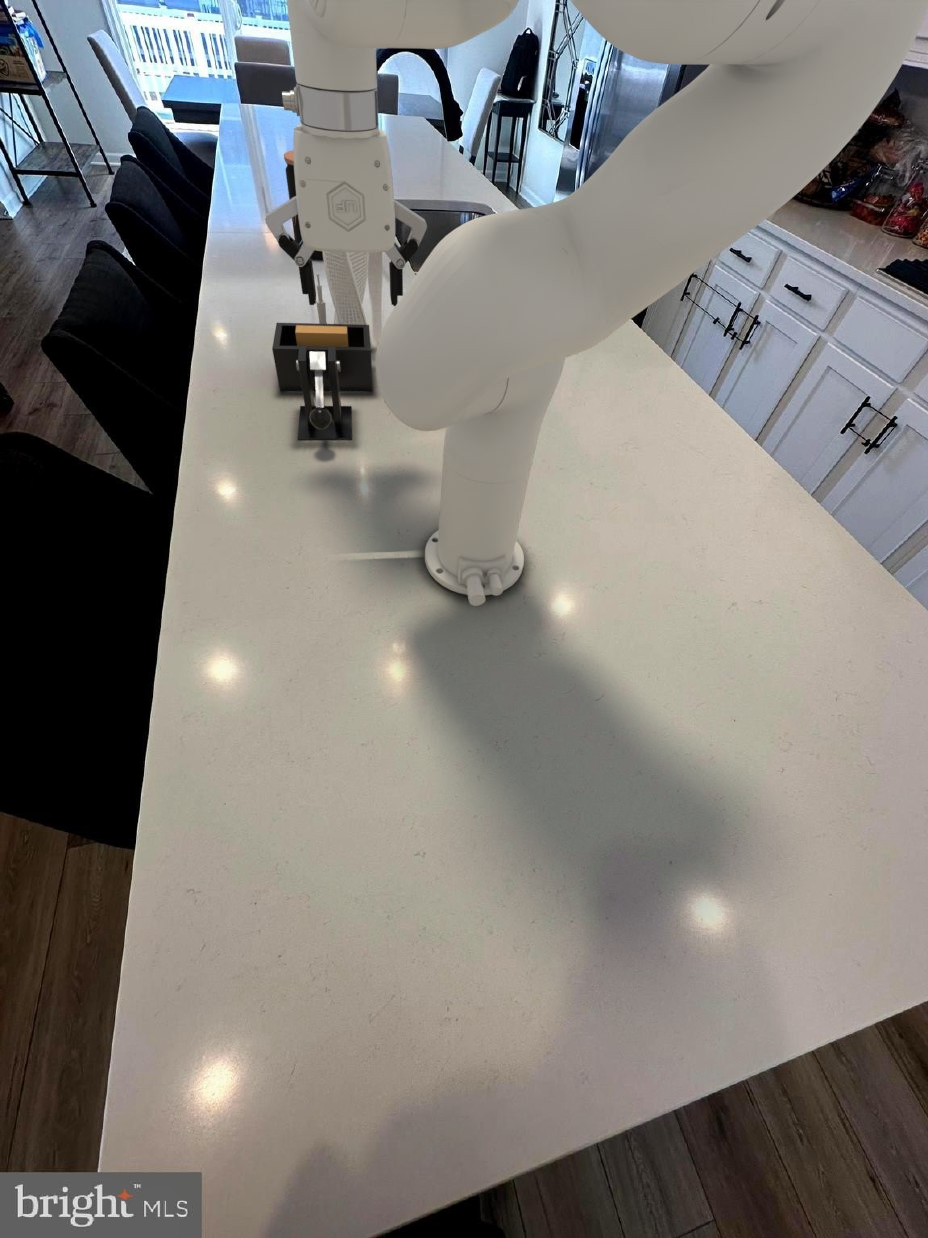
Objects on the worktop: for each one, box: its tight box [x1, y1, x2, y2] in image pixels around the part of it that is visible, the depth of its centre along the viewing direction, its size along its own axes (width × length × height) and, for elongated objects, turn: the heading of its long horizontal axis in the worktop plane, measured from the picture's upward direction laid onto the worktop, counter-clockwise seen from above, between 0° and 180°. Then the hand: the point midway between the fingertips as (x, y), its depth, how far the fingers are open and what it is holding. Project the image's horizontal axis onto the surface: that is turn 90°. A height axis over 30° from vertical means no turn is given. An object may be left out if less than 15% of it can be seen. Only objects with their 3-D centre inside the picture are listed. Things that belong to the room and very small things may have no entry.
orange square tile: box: [295, 325, 349, 347], centre depth 92 cm, size 2×8×8 cm, turn 98°
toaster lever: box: [309, 352, 332, 429], centre depth 79 cm, size 11×3×3 cm, turn 8°
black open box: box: [271, 322, 374, 393], centre depth 93 cm, size 9×15×8 cm, turn 98°
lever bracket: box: [296, 346, 353, 441], centre depth 82 cm, size 9×8×12 cm
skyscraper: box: [316, 251, 374, 351], centre depth 93 cm, size 8×8×28 cm
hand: (353, 300), depth 67 cm, fingers open, 9 cm apart
